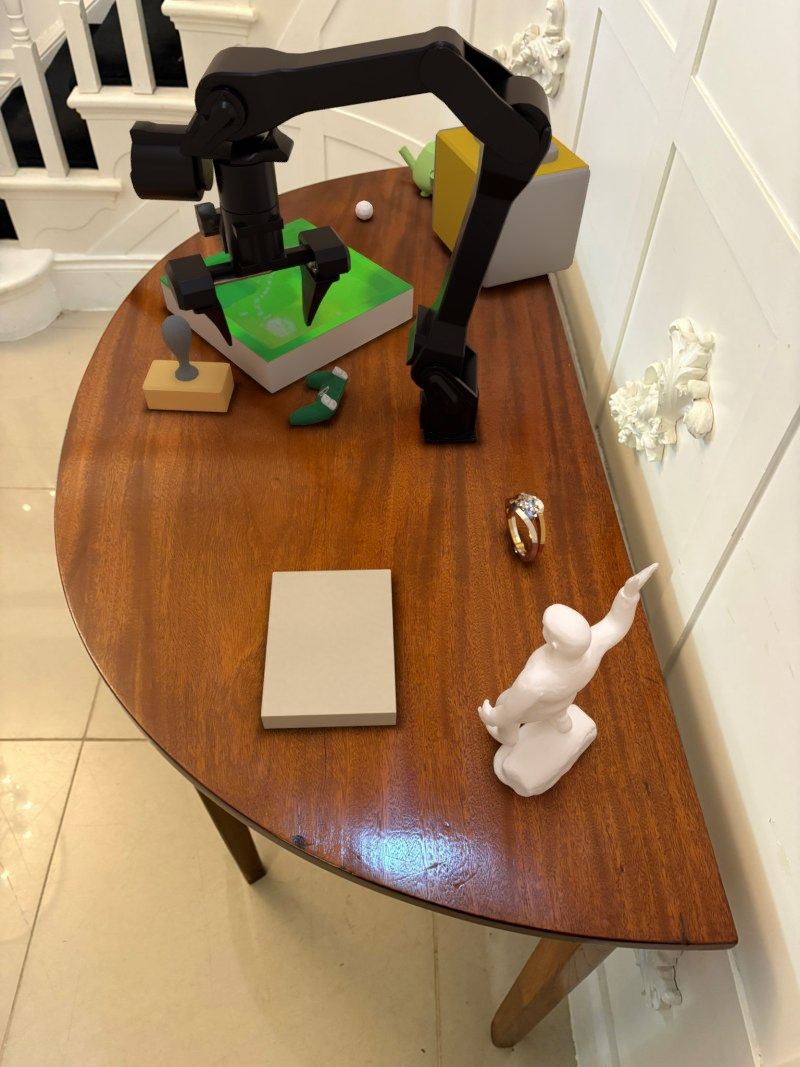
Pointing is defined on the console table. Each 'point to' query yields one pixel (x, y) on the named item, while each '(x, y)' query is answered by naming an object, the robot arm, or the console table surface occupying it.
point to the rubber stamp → (186, 376)
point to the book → (330, 650)
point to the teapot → (421, 167)
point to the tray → (299, 316)
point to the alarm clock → (514, 207)
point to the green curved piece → (321, 397)
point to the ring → (526, 514)
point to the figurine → (555, 694)
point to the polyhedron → (364, 210)
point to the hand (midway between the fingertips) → (269, 334)
